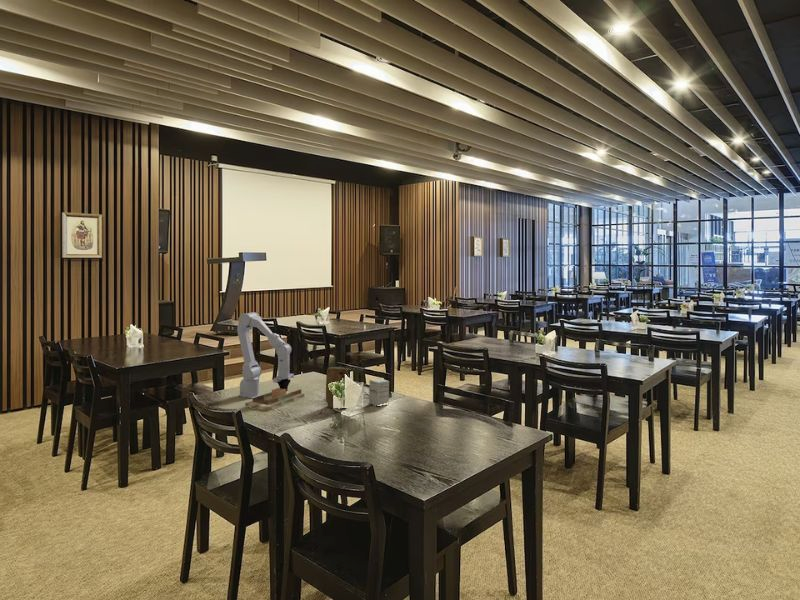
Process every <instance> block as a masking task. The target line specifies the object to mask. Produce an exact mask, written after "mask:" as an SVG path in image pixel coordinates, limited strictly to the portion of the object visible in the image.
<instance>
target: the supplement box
mask: <svg viewBox="0 0 800 600" xmlns="http://www.w3.org/2000/svg"><path fill="white" fill-rule="evenodd" d="M389 394H390V381H389V380H386V379H384V378H381V377H380V378H374V379H373V378H372V379H369V392H368V395H369V396H368V404H369V405H371V404H373V405H372V406H374V405H380V404H384V403H387V402H388V403H389V398H390V397H389Z"/></svg>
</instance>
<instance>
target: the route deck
mask: <svg viewBox="0 0 800 600" xmlns="http://www.w3.org/2000/svg"><path fill="white" fill-rule="evenodd" d="M303 397H304V398H305V393H302V389H297V390H295V391H290V390H289V389H288V388H287V391H286V394H285V395H282V396H279V397H276V398H272V391H270V392H268V393H264V394H262V395H261V396H258V397H255V398H252V400H250V401H247V402H245V404H244V406H246V407H245V408H248V407H251V408H250V409H253V408H256V409H255V410H259V409H261V410H260V411H264V410H266V411H265V412H269V410H270V411H272V409H273V410H276V409H278V408H280V406H281V407H284V406H286V405H287V404H291V403H293V401H294V402H297V401H298V399H299V400H301V399H300V398H302V399H304V398H303ZM285 404H286V405H285ZM277 407H278V408H277Z"/></svg>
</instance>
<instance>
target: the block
mask: <svg viewBox="0 0 800 600" xmlns="http://www.w3.org/2000/svg"><path fill="white" fill-rule="evenodd" d="M347 371H348V370H347V368H345V367H342V366H330V367H328V368H327V369H326V376H325V377H326V379H325V382H326V383H325V402H326V403H327V408H330V409H331V410H334V409H333V394H332V392H331V391H330V390H329V388H328V384H329V383H331V382H335V381H338V380H342V378H343V376H344V374H346V375H347V376H348V377H349V374H348V372H347Z"/></svg>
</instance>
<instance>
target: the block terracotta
mask: <svg viewBox="0 0 800 600" xmlns="http://www.w3.org/2000/svg"><path fill="white" fill-rule="evenodd" d="M271 392H272V398H276V397H279V396H282V395H285V394H286V389H281V388H280V387H277V388H274V389H271Z"/></svg>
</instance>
